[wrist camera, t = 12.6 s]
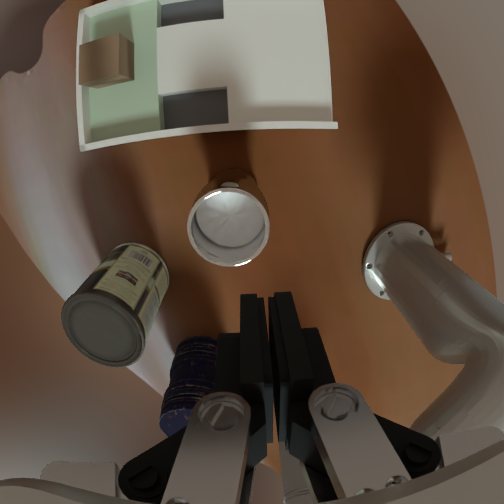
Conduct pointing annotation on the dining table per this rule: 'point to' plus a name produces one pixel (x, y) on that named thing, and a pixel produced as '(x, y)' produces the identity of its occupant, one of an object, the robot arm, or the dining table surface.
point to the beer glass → (229, 219)
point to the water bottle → (293, 479)
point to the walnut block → (106, 61)
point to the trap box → (208, 69)
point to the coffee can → (117, 305)
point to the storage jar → (188, 381)
